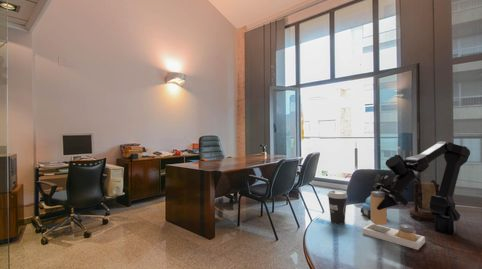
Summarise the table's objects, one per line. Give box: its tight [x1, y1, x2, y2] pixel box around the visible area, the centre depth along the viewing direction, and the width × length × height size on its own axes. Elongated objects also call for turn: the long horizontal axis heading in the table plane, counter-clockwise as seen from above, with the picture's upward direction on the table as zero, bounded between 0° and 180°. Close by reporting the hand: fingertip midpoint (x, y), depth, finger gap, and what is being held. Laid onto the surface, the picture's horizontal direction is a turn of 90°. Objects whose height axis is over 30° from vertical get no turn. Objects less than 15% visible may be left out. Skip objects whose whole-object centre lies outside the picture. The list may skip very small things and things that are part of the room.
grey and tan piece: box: [397, 224, 417, 242], centre depth 97 cm, size 5×5×6 cm
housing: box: [362, 222, 426, 251], centre depth 101 cm, size 20×9×4 cm, turn 40°
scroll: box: [409, 179, 441, 222], centre depth 127 cm, size 15×15×20 cm
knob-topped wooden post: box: [369, 190, 388, 226], centre depth 105 cm, size 5×5×13 cm
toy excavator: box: [360, 196, 388, 219], centre depth 131 cm, size 9×17×17 cm, turn 94°
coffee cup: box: [326, 190, 348, 225], centre depth 124 cm, size 10×10×15 cm
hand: (374, 207), depth 105 cm, fingers closed on knob-topped wooden post, 4 cm apart
